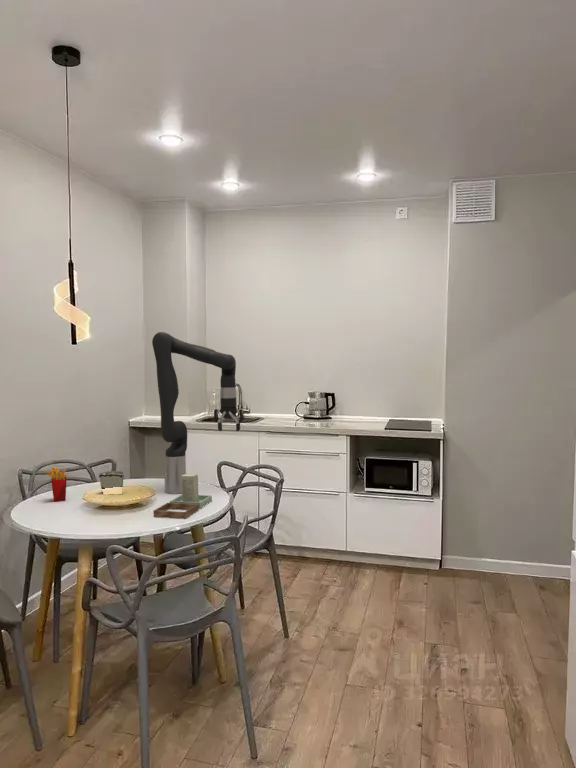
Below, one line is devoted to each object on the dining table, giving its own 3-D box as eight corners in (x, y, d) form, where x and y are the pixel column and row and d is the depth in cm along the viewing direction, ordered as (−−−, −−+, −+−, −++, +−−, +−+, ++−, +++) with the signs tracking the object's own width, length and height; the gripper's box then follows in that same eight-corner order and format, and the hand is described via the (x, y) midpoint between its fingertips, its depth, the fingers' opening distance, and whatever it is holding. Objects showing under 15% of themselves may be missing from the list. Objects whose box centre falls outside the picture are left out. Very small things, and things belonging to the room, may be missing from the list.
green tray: (169, 507, 256) (169, 501, 256) (182, 499, 269) (182, 494, 268) (200, 508, 253) (200, 503, 252) (211, 501, 265) (211, 495, 265)
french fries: (67, 497, 275) (66, 465, 274) (67, 501, 268) (66, 468, 267) (46, 499, 272) (45, 466, 271) (46, 504, 264) (45, 470, 263)
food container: (129, 491, 285) (128, 470, 285) (124, 494, 279) (123, 473, 279) (104, 491, 287) (103, 470, 286) (99, 494, 280) (98, 473, 280)
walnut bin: (153, 516, 241) (153, 510, 241) (167, 508, 254) (167, 502, 254) (185, 518, 238) (185, 512, 238) (198, 510, 251) (198, 504, 250)
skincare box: (199, 501, 262) (198, 474, 261) (195, 504, 258) (194, 476, 257) (185, 501, 264) (185, 473, 263) (181, 503, 259) (180, 475, 259)
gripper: (245, 396, 285) (246, 430, 286) (217, 396, 288) (217, 429, 289) (240, 397, 278) (240, 432, 279) (211, 397, 281) (212, 432, 282)
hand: (229, 431), depth 284 cm, fingers open, 8 cm apart
